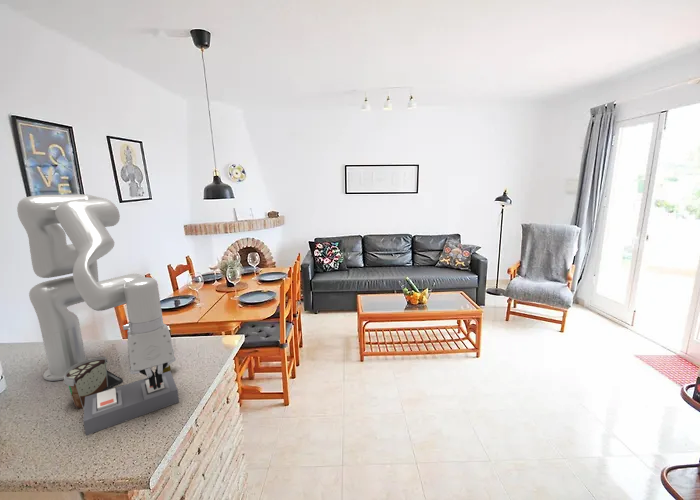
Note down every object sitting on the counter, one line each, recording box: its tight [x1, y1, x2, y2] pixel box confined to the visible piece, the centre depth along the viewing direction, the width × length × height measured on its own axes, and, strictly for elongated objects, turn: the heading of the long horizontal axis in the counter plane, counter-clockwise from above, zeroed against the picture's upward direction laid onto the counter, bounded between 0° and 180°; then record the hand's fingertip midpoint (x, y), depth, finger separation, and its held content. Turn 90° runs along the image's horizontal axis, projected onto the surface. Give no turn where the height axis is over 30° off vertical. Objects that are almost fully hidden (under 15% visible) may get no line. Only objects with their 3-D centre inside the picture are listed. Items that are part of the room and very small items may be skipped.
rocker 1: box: [97, 387, 117, 411], centre depth 87 cm, size 6×4×1 cm
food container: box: [63, 356, 109, 410], centre depth 95 cm, size 12×6×10 cm, turn 178°
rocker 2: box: [145, 377, 164, 393], centre depth 93 cm, size 6×4×1 cm
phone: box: [103, 370, 124, 391], centre depth 104 cm, size 8×1×15 cm
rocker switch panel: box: [82, 370, 180, 436], centre depth 92 cm, size 12×21×5 cm, turn 127°
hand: (156, 386), depth 91 cm, fingers closed
